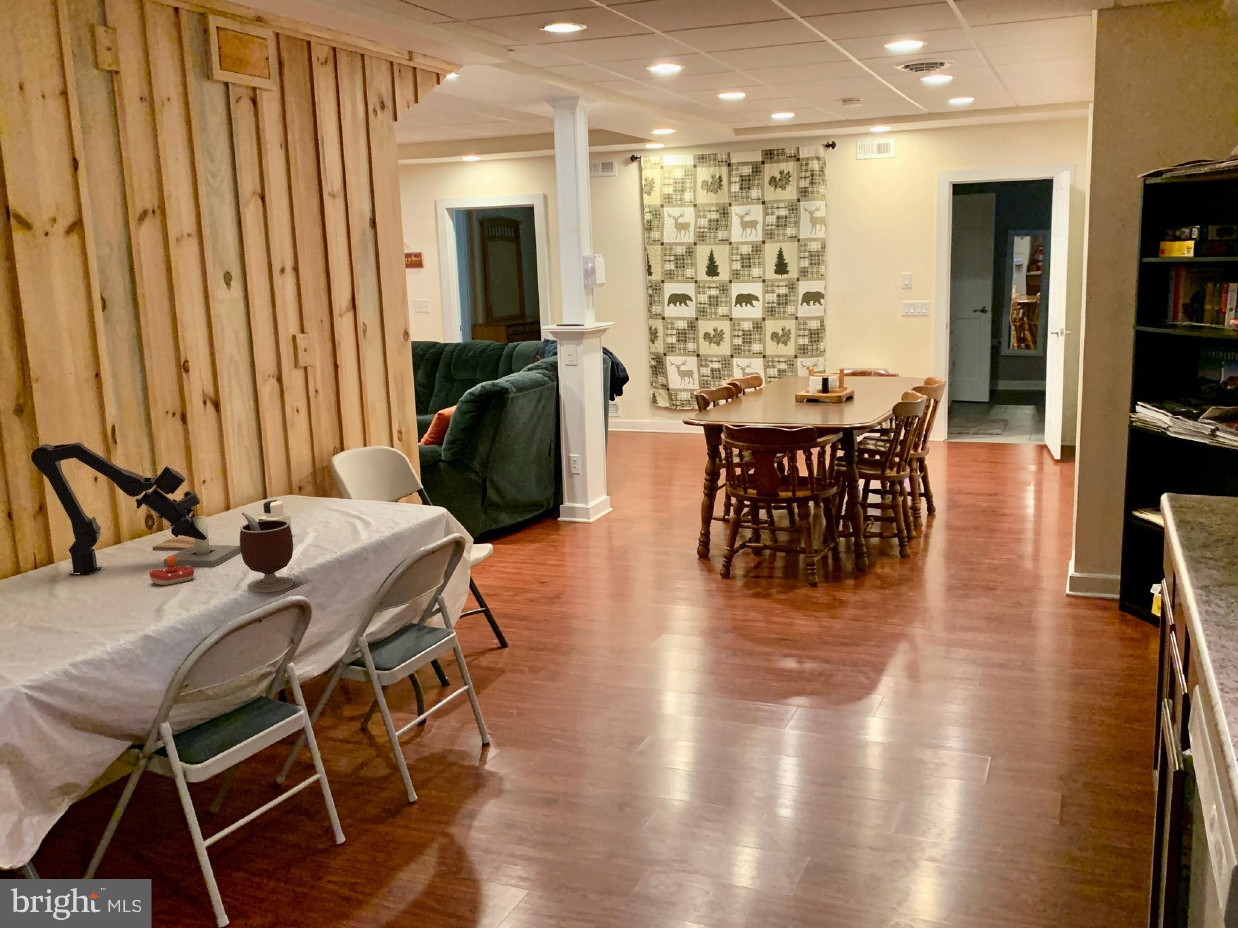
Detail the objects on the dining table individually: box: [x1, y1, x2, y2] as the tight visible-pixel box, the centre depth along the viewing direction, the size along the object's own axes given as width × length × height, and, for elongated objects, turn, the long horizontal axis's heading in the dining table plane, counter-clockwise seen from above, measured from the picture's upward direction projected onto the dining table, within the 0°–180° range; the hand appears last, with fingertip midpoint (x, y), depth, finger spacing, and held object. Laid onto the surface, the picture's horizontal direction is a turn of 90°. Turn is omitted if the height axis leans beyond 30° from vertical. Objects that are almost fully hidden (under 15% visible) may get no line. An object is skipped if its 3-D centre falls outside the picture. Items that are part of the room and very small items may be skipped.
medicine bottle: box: [258, 499, 293, 534], centre depth 346 cm, size 7×7×12 cm
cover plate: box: [163, 544, 241, 568], centre depth 325 cm, size 16×16×2 cm
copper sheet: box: [152, 536, 195, 552], centre depth 341 cm, size 12×12×1 cm
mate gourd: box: [239, 512, 295, 593], centre depth 295 cm, size 16×14×20 cm
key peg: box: [192, 515, 210, 555], centre depth 324 cm, size 4×4×13 cm
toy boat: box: [149, 555, 195, 586], centre depth 303 cm, size 8×12×8 cm, turn 129°
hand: (206, 537), depth 324 cm, fingers closed on key peg, 4 cm apart
